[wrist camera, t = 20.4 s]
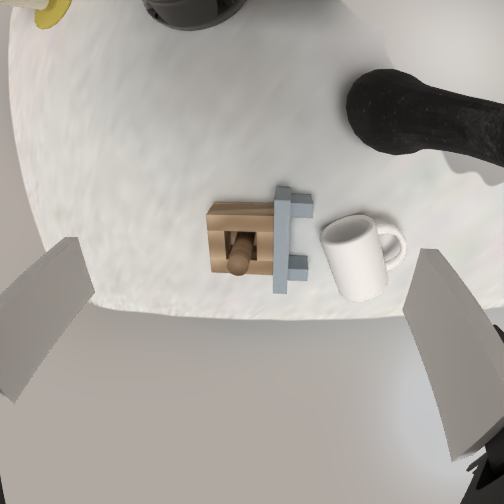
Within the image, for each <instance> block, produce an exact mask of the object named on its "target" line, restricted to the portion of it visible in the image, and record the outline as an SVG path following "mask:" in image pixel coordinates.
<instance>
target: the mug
mask: <svg viewBox="0 0 504 504" xmlns="http://www.w3.org/2000/svg"><path fill="white" fill-rule="evenodd" d="M380 234H393V235H395V236H396V237H397V238H398V240H399V242H400V252H399V253H398V255H397V256H395V257H394V258H392V259H390V260H388V261H386V262H385V261H384V257H383V253H382V249H381V245H380V241H379V235H380ZM320 241H321V243H322V246H323V249H324V251H325V254H326V257H327V259H328V262H329V265H330V268H331V270H332V273H333V276H334V279H335V281H336V284H337V287H338V290H339V293H340V295H341V296H342V297H343V298H344V299H346V300H349V301H353V302H361V301H366V300H369V299H372V298H374V297H376V296H377V295H379V294H380V293H381V292H382V291H383V290H384V289H385V288H386V286H387V284H388V275H387V272H388V271H390V270H392V269H394V268H395V267H397V266H398V265H399V264H400V263H401V262H402V261H403V260H404V258H405V256H406V254H407V242H406V239H405V237H404V235H403V233H402V232H401V231H400V230H399V229H398V228H397V227H396V226H394V225H392V224H388V223H381V224H375V222H374V220H373V219H372V218H371V217H369V216H366V215H351V216H347V217H344V218H341V219H338V220H336V221H334V222H332V223H331V224H329V225H328V226H327V227H326V228H325V229H324V230H323V231H322V233H321V235H320Z"/></svg>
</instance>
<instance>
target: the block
mask: <svg viewBox="0 0 504 504" xmlns="http://www.w3.org/2000/svg"><path fill="white" fill-rule="evenodd" d="M206 220H207V231H208V241H209V251H210V261H211V270H212V272H217V273H230V272H229V271H228V269H227V262H228V259H229V256H230V253H231V250H232V247H233V244H234V241H235V238H236V235H237V232H238V231H246V232H255V238H254V243H253V248H252V253H251V258H250V263H249V268H248V271H247V272H246V273H245V274H259V275H273V261H274V203H214V204H213V205H212V207H211V208H210V210H209V211H208V213H207V214H206Z"/></svg>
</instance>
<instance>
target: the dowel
mask: <svg viewBox="0 0 504 504" xmlns="http://www.w3.org/2000/svg"><path fill="white" fill-rule="evenodd" d="M254 238H255V232H246V231H238V232H237V235H236V238H235V241H234V244H233V247H232V250H231V253H230V256H229V259H228V262H227V269H228V271H229V272H230V273H231V274H233V275H236V276H241V275H244V274H245V273H246V272H247V271H248V268H249V263H250V258H251V253H252V248H253V243H254Z"/></svg>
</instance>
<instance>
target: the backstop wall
mask: <svg viewBox="0 0 504 504" xmlns="http://www.w3.org/2000/svg"><path fill="white" fill-rule="evenodd" d="M290 217H295V218H313V200H312V196H311V195H308V194H290V187H276V191H275V199H274V261H273V293H277V294H287V280H290V281H307V278H308V261H307V256H293V255H289V235H290Z"/></svg>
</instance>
